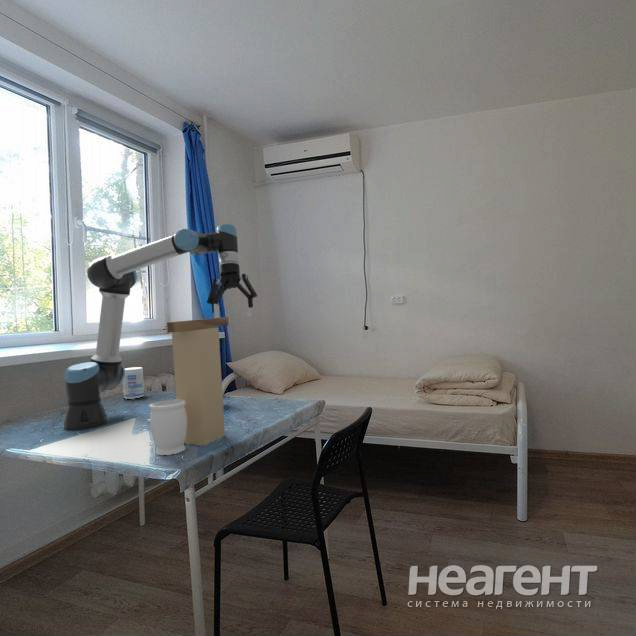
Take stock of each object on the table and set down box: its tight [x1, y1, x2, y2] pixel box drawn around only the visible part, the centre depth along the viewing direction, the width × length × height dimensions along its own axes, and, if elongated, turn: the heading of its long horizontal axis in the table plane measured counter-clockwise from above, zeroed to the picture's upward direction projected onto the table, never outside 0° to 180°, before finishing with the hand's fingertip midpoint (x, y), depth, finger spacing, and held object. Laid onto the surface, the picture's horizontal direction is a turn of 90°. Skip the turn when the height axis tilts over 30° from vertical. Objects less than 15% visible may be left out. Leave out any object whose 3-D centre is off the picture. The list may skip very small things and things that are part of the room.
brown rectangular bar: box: [166, 316, 229, 333], centre depth 156 cm, size 4×27×3 cm, turn 157°
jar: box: [148, 398, 187, 456], centre depth 144 cm, size 11×10×15 cm
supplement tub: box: [122, 366, 145, 400], centre depth 234 cm, size 10×10×15 cm
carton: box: [171, 327, 226, 446], centre depth 155 cm, size 10×11×36 cm
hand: (233, 318), depth 181 cm, fingers open, 13 cm apart
